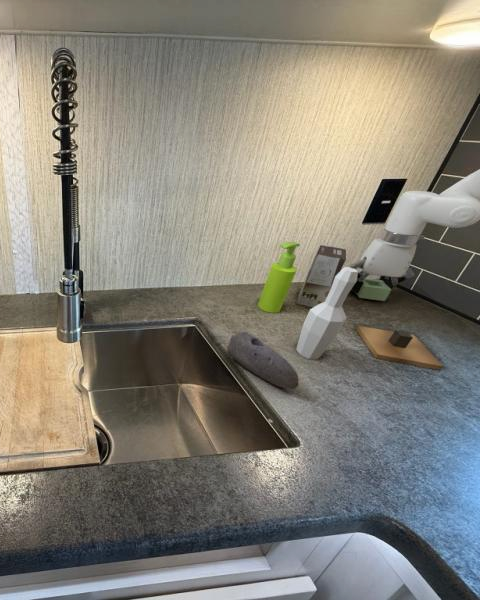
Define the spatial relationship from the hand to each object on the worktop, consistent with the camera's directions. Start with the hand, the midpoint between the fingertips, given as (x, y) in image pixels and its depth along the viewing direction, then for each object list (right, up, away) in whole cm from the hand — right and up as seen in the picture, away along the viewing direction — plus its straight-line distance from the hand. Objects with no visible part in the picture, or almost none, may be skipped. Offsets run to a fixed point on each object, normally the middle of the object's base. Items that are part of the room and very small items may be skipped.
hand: (368, 292), depth 96 cm
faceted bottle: (-35, -15, -22) cm, 44 cm away
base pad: (-13, -14, -20) cm, 28 cm away
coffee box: (-19, -3, -2) cm, 20 cm away
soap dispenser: (-35, -5, -5) cm, 35 cm away
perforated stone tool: (-50, -18, -28) cm, 60 cm away
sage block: (0, -1, 0) cm, 1 cm away
